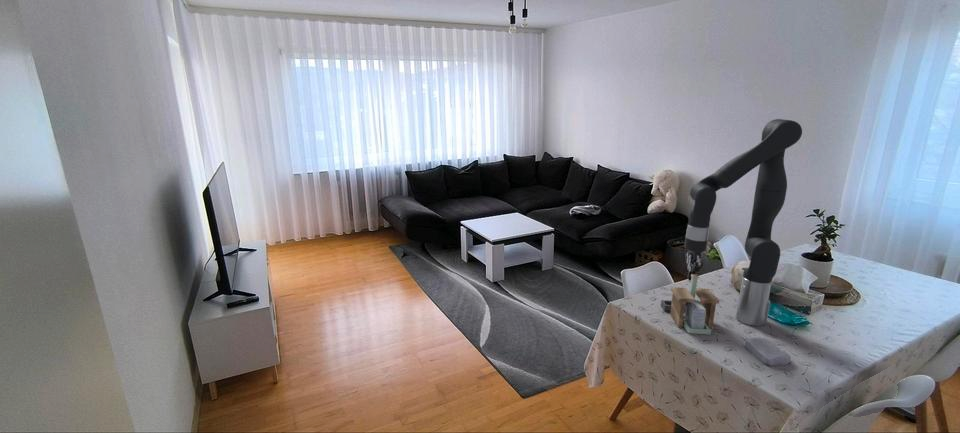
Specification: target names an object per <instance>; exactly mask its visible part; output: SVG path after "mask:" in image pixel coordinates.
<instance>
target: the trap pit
mask: <svg viewBox="0 0 960 433" xmlns="http://www.w3.org/2000/svg"><path fill="white" fill-rule="evenodd" d="M671 303H672V300H667V299H666V300H665V299H662V300H660V307H661V309H662V310H663V312H668V313H670V311H671ZM686 304H687V302H686ZM686 304H685V311H684V314H685V312H686Z"/></svg>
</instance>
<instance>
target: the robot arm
mask: <svg viewBox="0 0 960 433" xmlns="http://www.w3.org/2000/svg"><path fill="white" fill-rule="evenodd" d="M761 132H762V133H761V142H759V143H758V144H757V145H755V146H754V147H752V148H750V149H748V150H747V151H744V152H743V153H741V154H739V155H737V156H735V157H734V158H732V159H730V160H729V161H728V162H726V163H725V164H723V165H722V166H721V167H720V168H718V169H717V170H716V171H715V172H714V173H712V174H710V175H707V176H706V177H704V178H702V179H700V180H699V181H697V182H696V183H695V184H694V185H692V187H691V188H690V191H689V195H690V198H691V199H692V200H693V201H694V205H693V209H692V210H690V212H689V215H688V221H687V222H688V224H687V228H686V229H685V230H686V233H685V238H684V239H685V240H684V245H683V246H684V247H683V248H685V249H686V250H687V251H685V252H684V255H685V266H686V267H687V277H686V279H687V280H688V281H690V282H691V274H696V273H699V272H700V271H701V269H702V268H703V266H704V262H701V260H702V253H703V252H706V250H707V247H708V240H709V235H710V223H711V214H712V213H713V210H714V209H715V205H716V203H717V192H718V191H719V190H721V189H727V188H729V187H731V186H732V185H733V184H735V183H736V182H738V181H739V180H740V179H741V178H742V177H744V176H745V175H746V174H748V173H749V172H750V171H752V170H753V169H755V168H757V167H758V172H757V180H756V185H755V189H754V190H755V191H754V197H753V204H752V205H753V206H752V212H751V220H750V224H749V227H748V228H749V229H748V230H747V231H748V232H747V236H746V238H745V243H744V250H745V253H746V255H747V256H748V257H749V258H750V260H749V261H750V265H749V268H746V269H745V270H744V273H743V278H742V284H741V290H740V291H739V296H738V302H737V308H736V311H735V312H736V314H735V319H736V320H738V322H740V323H743V324H745V325H748V326H755V327H761V326H763V325H765V326H766V325H767V322H768V318H769V317H768V316H769V312H770V308H771V300H770V298H769V297H770V292H771V287H772V283H773V279H774V277H775V276H776V274H777V271H778V267H779V263H780V257H781V249H780V246H779V244H778V243H777V242H776V241H774V240H773V239H772V232H773V231H772V230H773V225H774V221H775V220H776V218H777V217H778V215H779V213H780V212H781V210H782V209H783V206H784V205H785V200H786V194H787V191H788V190H787V189H788V180H787V174H786V169H785V163H784V162H785V153H786V150H787V149H788V148H790V147H792V146H794V145H795V144H796V143H798V142H799V141H800V139H801V138H802V135H803V128H802V125H801V124H800V123H799V122H797V121H794V120H791V119H783V118H776V119H772V120H770V121H768V122H767V123H766V124H765V126H764V127H763V129H762V131H761Z"/></svg>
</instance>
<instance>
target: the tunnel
mask: <svg viewBox="0 0 960 433" xmlns="http://www.w3.org/2000/svg"><path fill="white" fill-rule="evenodd" d="M670 291H671V293H672V297H671V301H672V303H671V311H670V312H669V315H670V317H671V319H672V320H673V322H674V324H675V326H676V327H677V328H679V329H680V328H682V329H683V327H684V326H683V319H684V314H685V313H684V311H685V304H686V302H695V299H696V298H695V299H694V298H693V296H692V295H691V294H690V293H689V292H690V290H688V289H687V288H686V287H676V286H675V287H674V286H671V287H670ZM695 296H697V298H698V299H700V300H699V302H700V303H701V304H702V305H703V307H704V308H705V309H706V315H705V323H706V325H707V326H708V327H709V329H710V330H713V327H714V320H715V313H716V307H717V304H720V299H719V298H718V297H717V296H716V294H714V293H713V292H712V290H710V289H709V288H697V287H696V293H695ZM684 320H685V319H684Z"/></svg>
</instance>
